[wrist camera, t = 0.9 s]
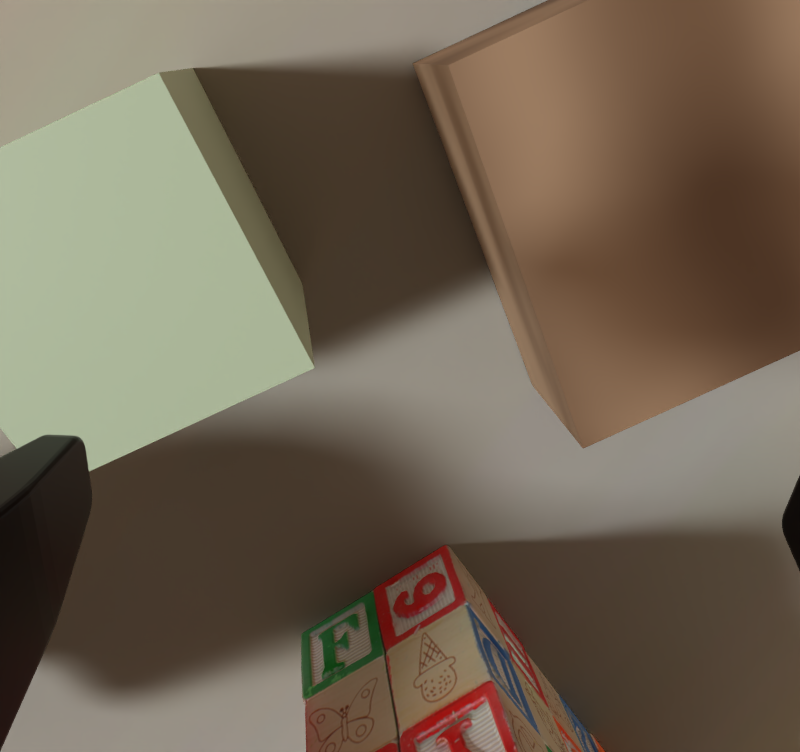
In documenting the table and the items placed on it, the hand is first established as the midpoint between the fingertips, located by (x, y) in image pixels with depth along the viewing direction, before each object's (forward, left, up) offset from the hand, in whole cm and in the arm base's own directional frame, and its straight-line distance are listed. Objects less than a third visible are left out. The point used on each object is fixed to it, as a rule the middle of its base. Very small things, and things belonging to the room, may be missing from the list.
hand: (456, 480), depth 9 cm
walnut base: (+8, -1, -12) cm, 15 cm away
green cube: (-5, +3, -12) cm, 13 cm away
